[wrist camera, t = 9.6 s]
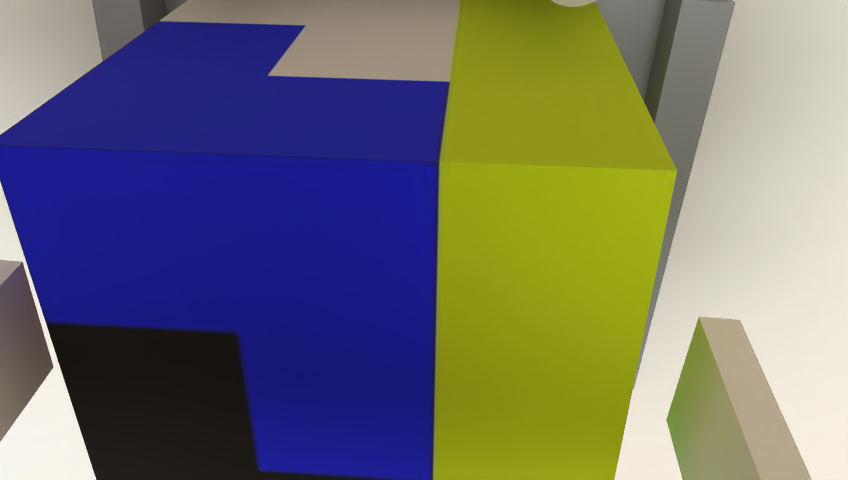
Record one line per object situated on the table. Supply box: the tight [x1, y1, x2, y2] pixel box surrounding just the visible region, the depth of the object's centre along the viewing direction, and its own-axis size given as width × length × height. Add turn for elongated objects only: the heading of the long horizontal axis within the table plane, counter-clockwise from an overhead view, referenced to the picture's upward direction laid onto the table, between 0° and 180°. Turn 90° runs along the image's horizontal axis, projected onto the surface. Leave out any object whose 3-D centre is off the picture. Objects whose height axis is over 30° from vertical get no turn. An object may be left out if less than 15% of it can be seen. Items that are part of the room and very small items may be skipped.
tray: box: [92, 0, 735, 389], centre depth 20 cm, size 17×16×6 cm
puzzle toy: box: [0, 0, 677, 480], centre depth 18 cm, size 10×10×10 cm
